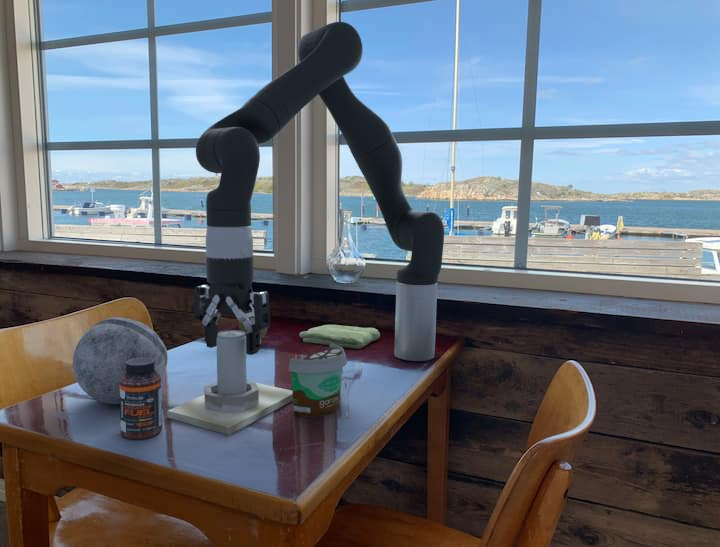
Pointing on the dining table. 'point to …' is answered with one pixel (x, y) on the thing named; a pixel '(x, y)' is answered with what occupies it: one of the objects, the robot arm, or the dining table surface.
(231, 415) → the holder board
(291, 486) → the dining table surface
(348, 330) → the washcloth
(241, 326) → the cup
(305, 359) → the food container
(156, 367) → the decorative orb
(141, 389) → the supplement bottle
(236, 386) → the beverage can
